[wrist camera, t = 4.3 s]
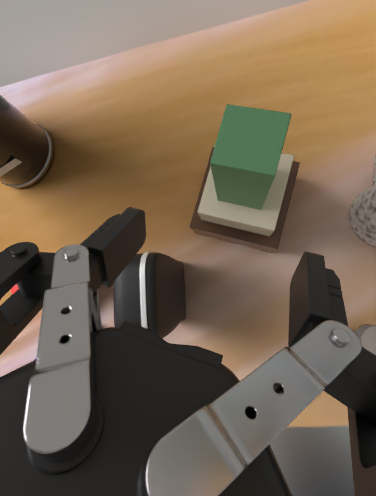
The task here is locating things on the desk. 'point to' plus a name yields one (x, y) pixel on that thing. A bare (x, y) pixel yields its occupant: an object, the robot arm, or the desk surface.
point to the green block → (247, 154)
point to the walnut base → (244, 236)
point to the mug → (365, 214)
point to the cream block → (246, 216)
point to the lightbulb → (367, 337)
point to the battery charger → (151, 293)
